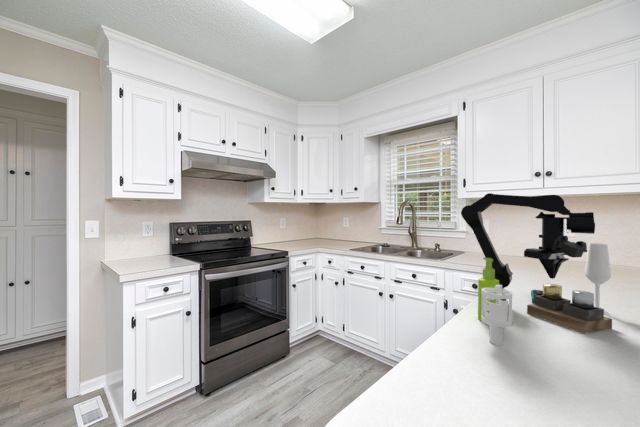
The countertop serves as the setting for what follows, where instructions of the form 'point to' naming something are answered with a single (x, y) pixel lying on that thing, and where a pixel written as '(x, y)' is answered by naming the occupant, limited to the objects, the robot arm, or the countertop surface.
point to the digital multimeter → (535, 294)
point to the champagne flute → (598, 268)
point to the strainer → (496, 312)
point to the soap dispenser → (486, 283)
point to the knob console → (569, 314)
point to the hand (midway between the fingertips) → (552, 278)
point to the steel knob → (583, 299)
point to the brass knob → (552, 291)
